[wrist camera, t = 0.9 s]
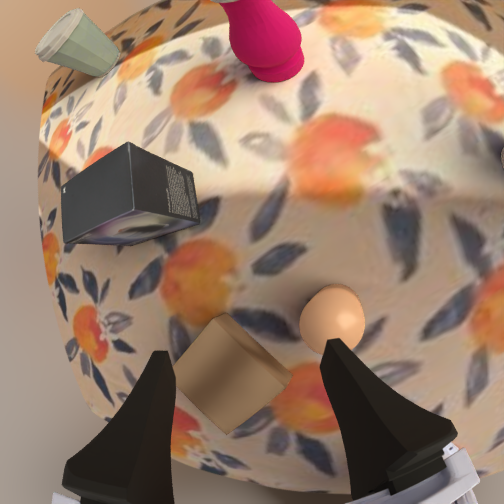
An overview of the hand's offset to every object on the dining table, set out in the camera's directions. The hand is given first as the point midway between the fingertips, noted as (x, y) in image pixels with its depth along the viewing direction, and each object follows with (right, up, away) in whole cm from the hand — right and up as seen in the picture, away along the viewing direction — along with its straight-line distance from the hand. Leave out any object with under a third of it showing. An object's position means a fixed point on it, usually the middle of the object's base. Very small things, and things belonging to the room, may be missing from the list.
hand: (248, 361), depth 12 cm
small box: (-10, +10, +19) cm, 24 cm away
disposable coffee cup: (-26, +39, +25) cm, 53 cm away
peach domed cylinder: (+8, 0, +12) cm, 14 cm away
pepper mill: (+3, +26, +14) cm, 30 cm away
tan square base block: (-2, -7, +15) cm, 17 cm away
